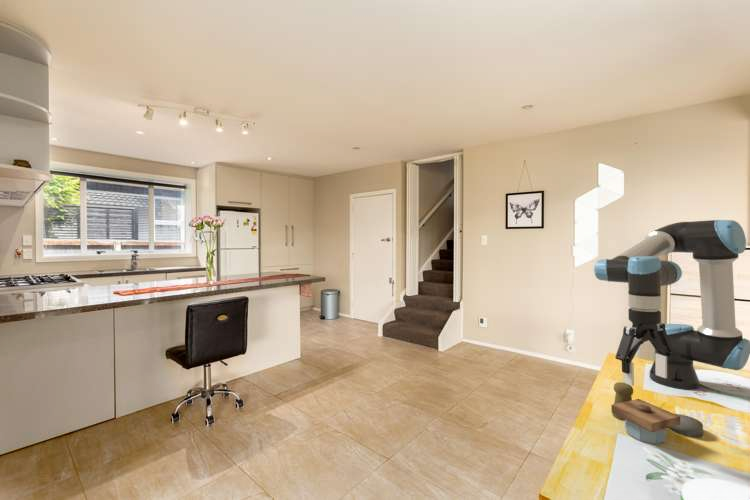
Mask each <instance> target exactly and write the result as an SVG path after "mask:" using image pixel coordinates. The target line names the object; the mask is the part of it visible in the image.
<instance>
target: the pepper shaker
mask: <svg viewBox="0 0 750 500" xmlns="http://www.w3.org/2000/svg"><path fill="white" fill-rule="evenodd" d="M613 390H614V392H615V397H614V402H613V404H617V403H622V402H626V401H631V400H633V399H632V396H633V395H634V389H633V386H632V385H629V384H626V383H624V382H623V381H619V382H615V383H614V385H613ZM611 414H612V417H614V418H615V419H617V420H619V421H621V422H625V419H623V418H621V417H619V416H617V415H615V414H613V413H611Z"/></svg>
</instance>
